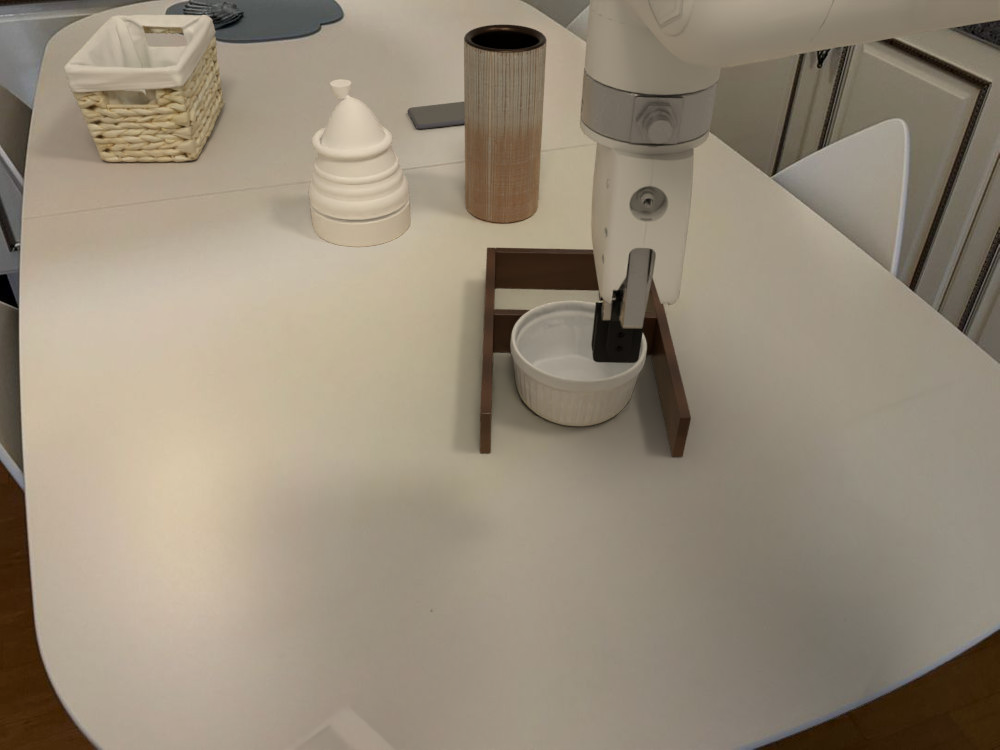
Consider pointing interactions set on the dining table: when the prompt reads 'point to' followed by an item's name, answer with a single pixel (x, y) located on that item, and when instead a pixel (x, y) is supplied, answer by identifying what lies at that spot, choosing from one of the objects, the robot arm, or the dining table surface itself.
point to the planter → (503, 121)
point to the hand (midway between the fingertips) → (614, 355)
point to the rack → (572, 274)
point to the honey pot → (357, 177)
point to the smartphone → (438, 115)
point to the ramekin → (568, 366)
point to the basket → (148, 88)
